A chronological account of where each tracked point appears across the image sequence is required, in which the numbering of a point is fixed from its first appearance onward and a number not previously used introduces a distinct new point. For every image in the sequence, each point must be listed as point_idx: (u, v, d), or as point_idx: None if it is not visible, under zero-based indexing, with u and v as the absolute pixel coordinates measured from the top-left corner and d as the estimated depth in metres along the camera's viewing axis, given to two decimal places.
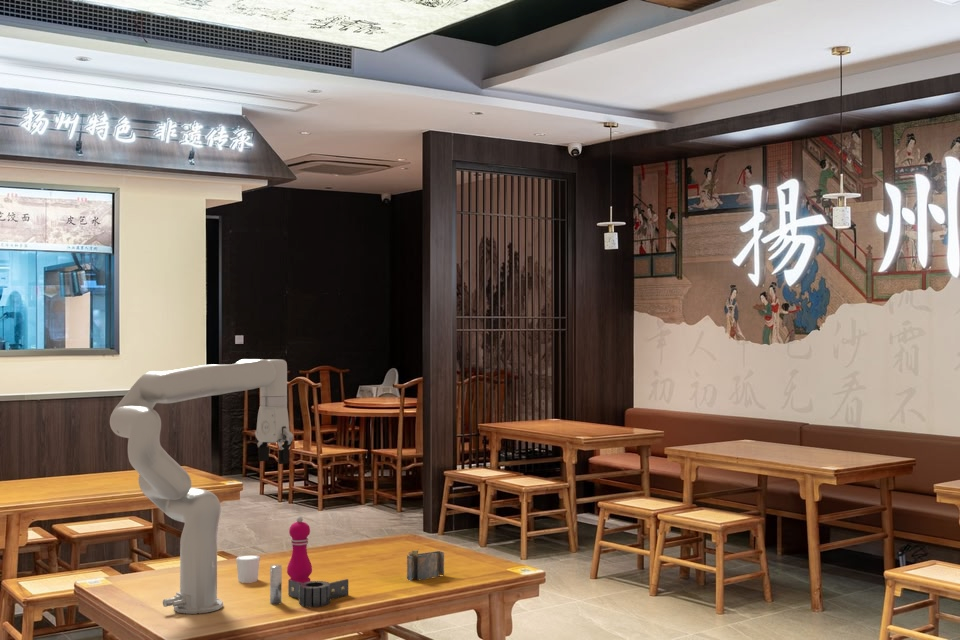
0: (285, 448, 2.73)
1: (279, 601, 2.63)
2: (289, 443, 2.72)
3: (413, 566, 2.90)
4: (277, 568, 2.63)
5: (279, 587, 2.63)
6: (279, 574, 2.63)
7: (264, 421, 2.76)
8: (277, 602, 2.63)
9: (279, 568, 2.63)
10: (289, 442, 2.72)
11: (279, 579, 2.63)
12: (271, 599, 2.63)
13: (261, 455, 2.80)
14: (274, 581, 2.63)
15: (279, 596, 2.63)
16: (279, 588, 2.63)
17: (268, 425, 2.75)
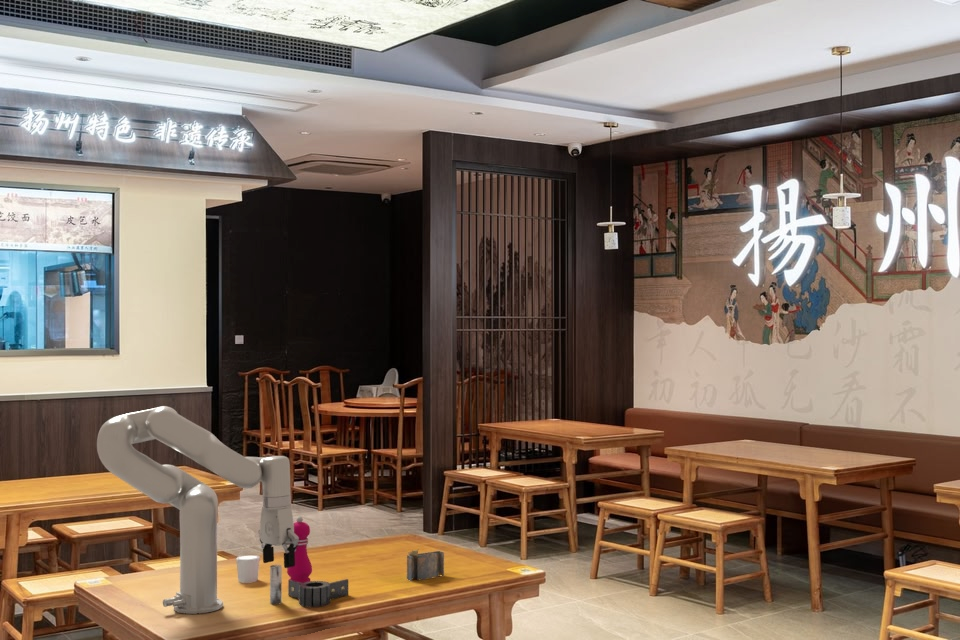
0: (291, 551, 2.60)
1: (279, 601, 2.63)
2: (295, 546, 2.59)
3: (413, 566, 2.90)
4: (277, 568, 2.63)
5: (279, 587, 2.63)
6: (279, 574, 2.63)
7: (268, 522, 2.63)
8: (277, 602, 2.63)
9: (279, 568, 2.63)
10: (295, 545, 2.59)
11: (279, 579, 2.63)
12: (271, 599, 2.63)
13: (266, 557, 2.67)
14: (274, 581, 2.63)
15: (279, 596, 2.63)
16: (279, 588, 2.63)
17: (272, 527, 2.62)
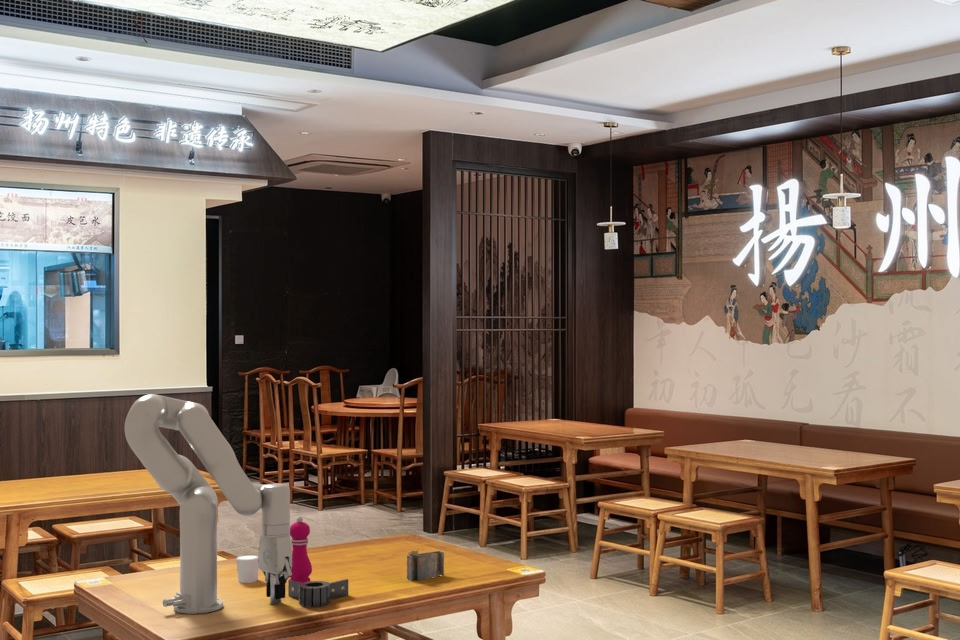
0: (281, 583, 2.62)
1: (279, 601, 2.63)
2: (285, 579, 2.61)
3: (413, 566, 2.90)
4: None
5: None
6: None
7: (266, 550, 2.63)
8: (277, 602, 2.63)
9: None
10: (285, 578, 2.61)
11: None
12: (271, 599, 2.63)
13: (269, 590, 2.64)
14: (274, 581, 2.63)
15: None
16: None
17: (270, 555, 2.61)
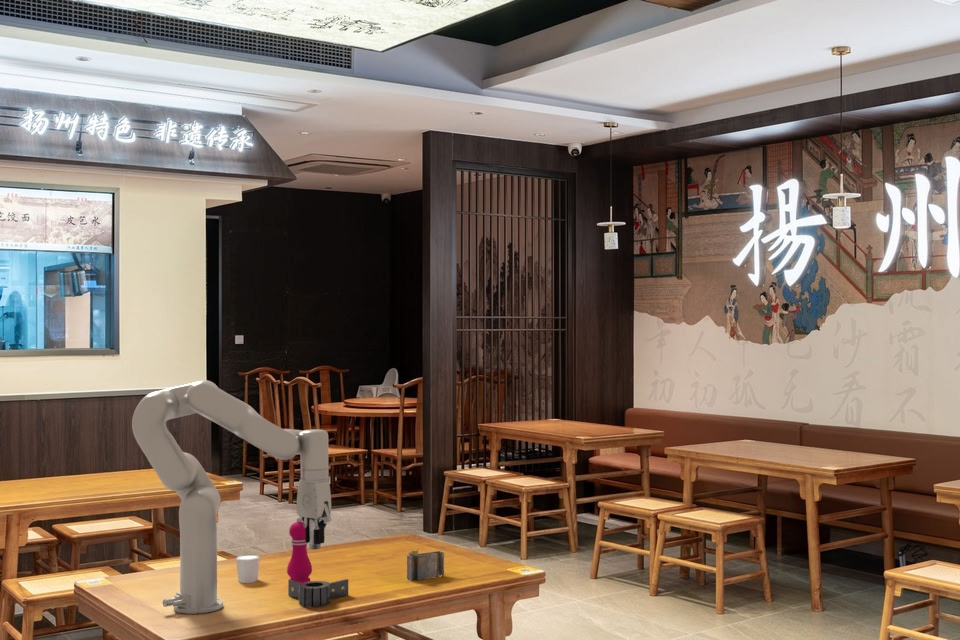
0: (321, 528, 2.62)
1: (318, 546, 2.63)
2: (324, 524, 2.61)
3: (413, 566, 2.90)
4: None
5: None
6: None
7: (305, 495, 2.63)
8: (316, 547, 2.63)
9: None
10: (325, 523, 2.61)
11: None
12: (310, 544, 2.63)
13: (308, 536, 2.64)
14: (313, 526, 2.63)
15: None
16: None
17: (309, 500, 2.61)
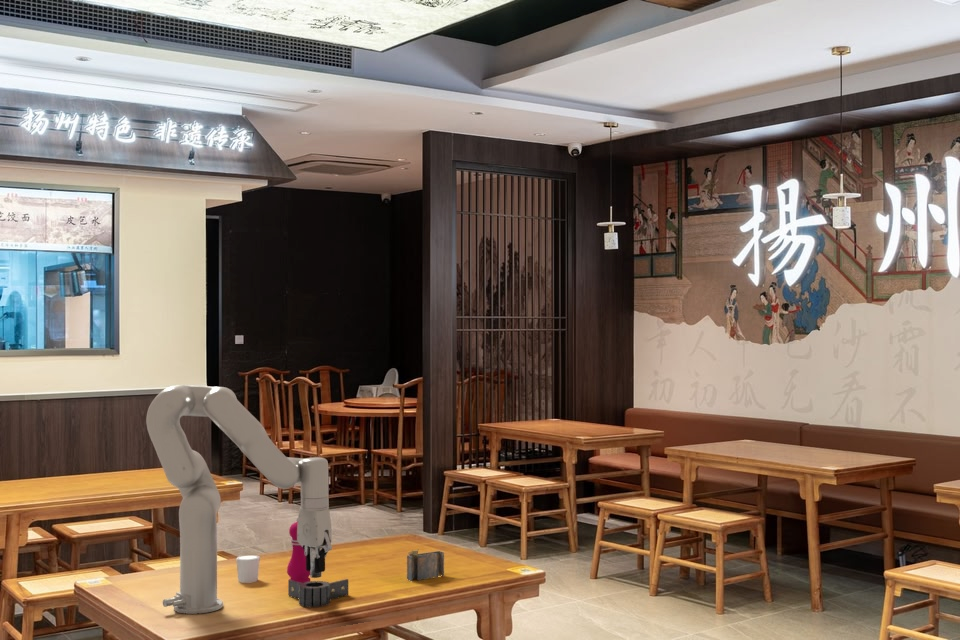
0: (321, 556, 2.62)
1: (319, 574, 2.63)
2: (325, 552, 2.61)
3: (413, 566, 2.90)
4: None
5: None
6: None
7: (305, 524, 2.62)
8: (317, 575, 2.63)
9: None
10: (325, 552, 2.61)
11: None
12: (311, 572, 2.63)
13: (309, 564, 2.64)
14: (314, 555, 2.63)
15: None
16: None
17: (310, 528, 2.61)
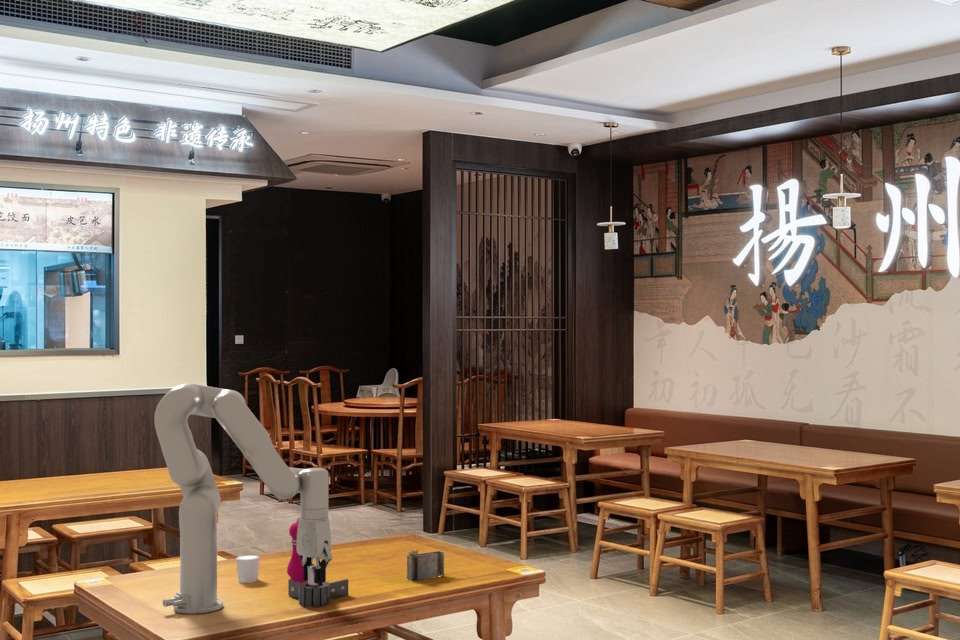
0: (322, 567, 2.61)
1: None
2: (326, 563, 2.60)
3: (413, 566, 2.90)
4: (314, 568, 2.63)
5: None
6: None
7: (305, 534, 2.62)
8: None
9: (316, 568, 2.63)
10: (326, 562, 2.60)
11: None
12: None
13: (306, 574, 2.65)
14: (311, 581, 2.63)
15: None
16: None
17: (309, 539, 2.61)
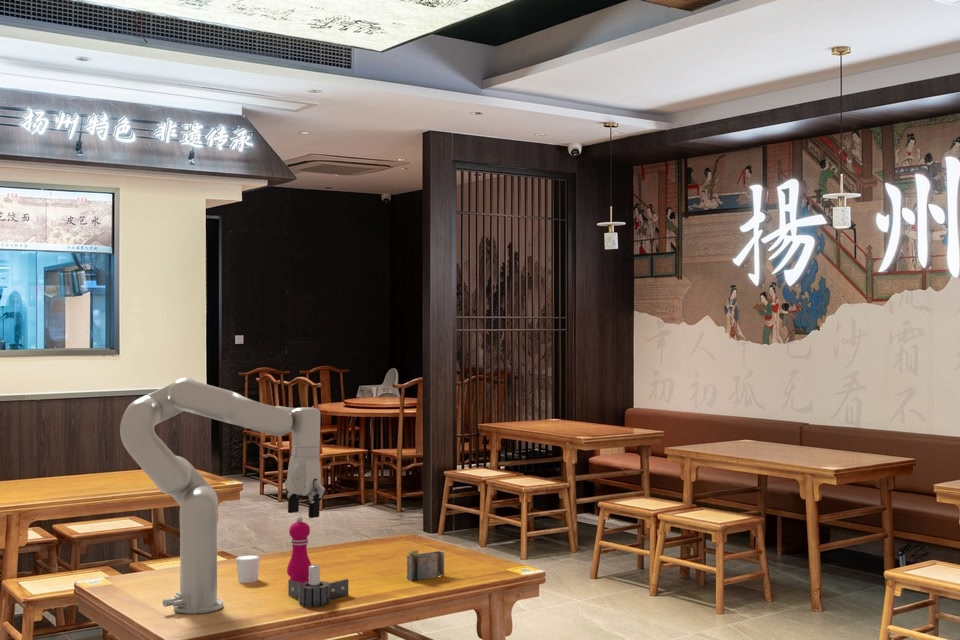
0: (316, 501, 2.62)
1: None
2: (320, 497, 2.61)
3: (413, 566, 2.90)
4: (316, 568, 2.63)
5: None
6: (318, 574, 2.63)
7: (295, 472, 2.65)
8: None
9: (318, 568, 2.63)
10: (320, 496, 2.61)
11: (318, 579, 2.63)
12: None
13: (291, 507, 2.68)
14: (312, 581, 2.62)
15: None
16: None
17: (299, 477, 2.63)
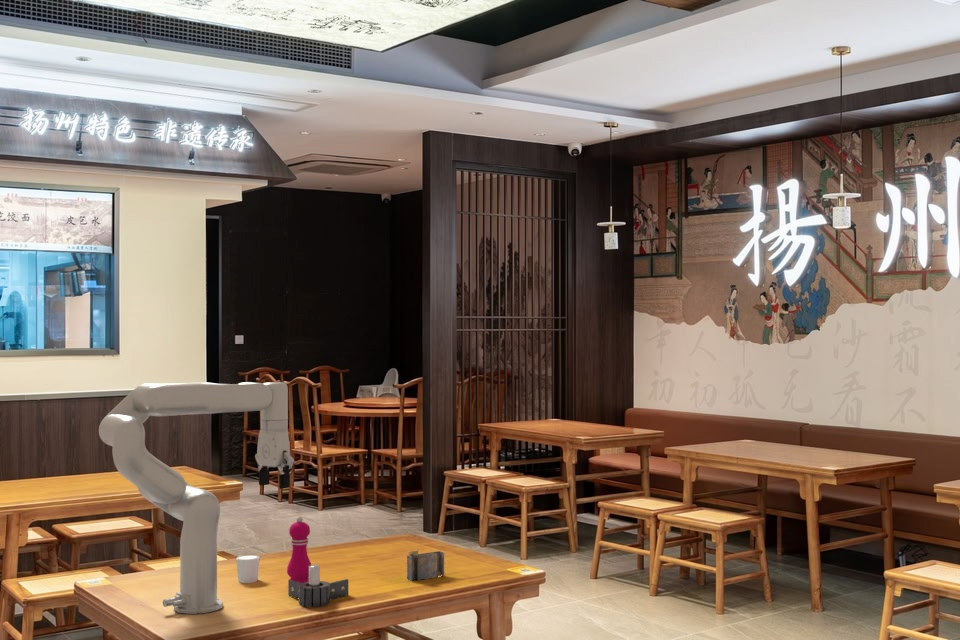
0: (286, 473, 2.69)
1: None
2: (290, 468, 2.69)
3: (413, 566, 2.90)
4: (316, 568, 2.63)
5: None
6: (318, 574, 2.63)
7: (264, 445, 2.72)
8: None
9: (318, 568, 2.63)
10: (290, 467, 2.69)
11: (318, 579, 2.63)
12: None
13: (261, 479, 2.76)
14: (312, 581, 2.62)
15: None
16: None
17: (269, 449, 2.71)
